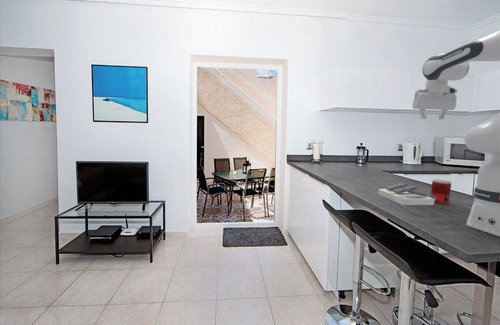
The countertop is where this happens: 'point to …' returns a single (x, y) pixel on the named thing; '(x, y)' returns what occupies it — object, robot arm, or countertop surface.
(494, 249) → the countertop surface
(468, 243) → the countertop surface
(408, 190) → the near rocker
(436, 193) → the canned food
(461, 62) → the robot arm
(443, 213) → the countertop surface
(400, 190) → the middle rocker
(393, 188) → the far rocker
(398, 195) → the switch unit
